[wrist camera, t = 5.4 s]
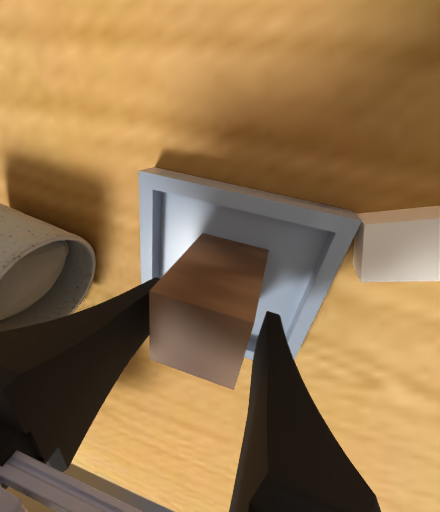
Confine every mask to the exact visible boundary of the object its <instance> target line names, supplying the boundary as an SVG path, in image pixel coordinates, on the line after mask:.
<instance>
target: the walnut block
mask: <svg viewBox="0 0 440 512" xmlns="http://www.w3.org/2000/svg"><path fill="white" fill-rule="evenodd" d="M268 252H269V250H267V249H264V248H260V247H256V246H252V245H248V244H244V243H240V242H236V241H232V240H228V239H224V238H220V237H216V236H213V235H209V234H205V233H202V234H201V235H200V236H199V237H198V238H197V239H196V241H195V242H194V243H193V244H192V245H191V246H190V247H189V248H188V249H187V250H186V251H185V253H184V254H183V255H182V256H181V257H180V258H179V259H178V260H177V261H176V262H175V263H174V265H173V266H172V267H171V268H170V269H169V270H168V271H167V272H166V273H165V274H164V275H163V277H162V278H161V279H160V280H159V281H158V282H157V283H156V284H155V285H154V286H153V287H152V289H151V290H150V291H149V319H150V360H153V361H156V362H158V363H161V364H164V365H167V366H169V367H172V368H175V369H178V370H180V371H183V372H186V373H189V374H191V375H194V376H197V377H200V378H202V379H205V380H208V381H211V382H213V383H216V384H219V385H222V386H224V387H227V388H230V389H233V390H234V388H235V384H236V381H237V378H238V375H239V371H240V368H241V365H242V362H243V358H244V355H245V352H246V349H247V345H248V342H249V339H250V336H251V332H252V329H253V326H254V322H255V317H256V312H257V307H258V302H259V297H260V292H261V287H262V282H263V277H264V272H265V267H266V262H267V257H268Z"/></svg>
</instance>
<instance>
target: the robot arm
mask: <svg viewBox="0 0 440 512" xmlns="http://www.w3.org/2000/svg"><path fill="white" fill-rule="evenodd" d="M159 280H160V278H157V277H155V278H153V279H151V280H149V281H147V282H145V283H143V284H141V285H139V286H137V287H135V288H133V289H131V290H129V291H127V292H125V293H123V294H121V295H119V296H116V297H114V298H112V299H110V300H107V301H105V302H103V303H101V304H98V305H96V306H93V307H91V308H88V309H85V310H82V311H80V312H77V313H74V314H71V315H67V316H64V317H61V318H57V319H54V320H50V321H47V322H43V323H39V324H35V325H30V326H26V327H21V328H17V329H12V330H6V331H1V332H0V512H28V510H27V509H26V508H25V507H24V506H23V504H22V501H21V500H20V499H19V498H17V497H16V496H14V495H13V494H11V493H10V492H8V491H7V490H5V489H4V488H2V487H1V483H3V484H5V485H7V486H9V487H11V488H13V489H15V490H17V491H19V492H21V493H23V494H25V495H26V496H28V497H30V498H32V499H34V500H36V501H38V502H40V503H42V504H44V505H46V506H48V507H50V508H52V509H54V510H55V511H57V512H143V511H141V510H139V509H137V508H135V507H133V506H131V505H129V504H126V503H124V502H122V501H120V500H118V499H116V498H114V497H112V496H110V495H108V494H106V493H104V492H102V491H100V490H97V489H95V488H93V487H91V486H89V485H87V484H85V483H83V482H81V481H79V480H77V479H75V478H73V477H71V476H69V475H67V474H65V473H63V471H65V470H67V469H68V467H69V465H70V463H71V461H72V460H73V458H74V456H75V454H76V452H77V450H78V448H79V446H80V444H81V442H82V440H83V439H84V437H85V435H86V433H87V431H88V429H89V427H90V426H91V424H92V422H93V420H94V418H95V417H96V415H97V413H98V411H99V409H100V408H101V406H102V404H103V403H104V401H105V399H106V397H107V396H108V394H109V392H110V391H111V389H112V387H113V386H114V384H115V382H116V381H117V379H118V377H119V376H120V374H121V373H122V371H123V369H124V368H125V366H126V365H127V364H128V362H129V361H130V359H131V358H132V357H133V355H134V354H135V353H136V351H137V350H138V349H139V347H140V346H141V345H142V343H143V342H144V341H145V339H146V338H147V337H148V335H149V334H150V319H149V291H150V290H151V289H152V287H153V286H154V285H155V284H156V283H157V282H158V281H159ZM229 512H381V510H380V507H379V504H378V501H377V498H376V495H375V494H374V493H373V491H372V490H371V489H370V487H369V486H368V485H367V483H366V482H365V480H364V479H363V478H362V476H361V475H360V474H359V472H358V471H357V470H356V468H355V467H354V465H353V464H352V463H351V461H350V460H349V459H348V457H347V456H346V454H345V453H344V451H343V450H342V448H341V447H340V445H339V444H338V442H337V441H336V439H335V437H334V436H333V434H332V432H331V431H330V429H329V428H328V426H327V424H326V423H325V421H324V419H323V418H322V416H321V414H320V413H319V411H318V409H317V407H316V405H315V404H314V402H313V400H312V398H311V396H310V394H309V392H308V390H307V388H306V386H305V384H304V382H303V380H302V378H301V376H300V373H299V371H298V369H297V366H296V364H295V361H294V359H293V356H292V353H291V351H290V348H289V345H288V342H287V339H286V336H285V332H284V329H283V325H282V320H281V316H280V315H279V314H276V313H273V312H269V311H267V312H266V315H265V317H264V320H263V323H262V326H261V329H260V332H259V335H258V338H257V342H256V347H255V352H254V357H253V365H252V375H251V386H250V397H249V407H248V415H247V421H246V426H245V432H244V437H243V443H242V448H241V453H240V459H239V464H238V469H237V474H236V480H235V485H234V490H233V495H232V500H231V505H230V510H229Z"/></svg>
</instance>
